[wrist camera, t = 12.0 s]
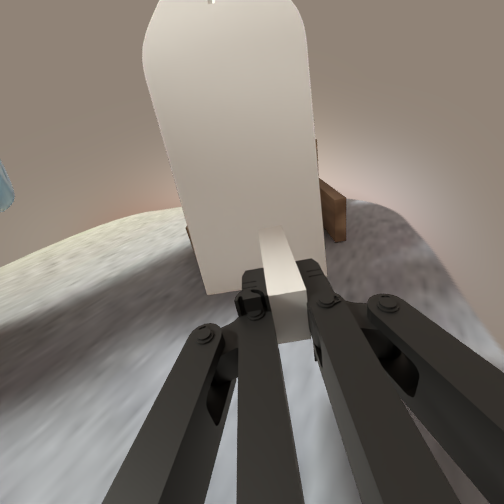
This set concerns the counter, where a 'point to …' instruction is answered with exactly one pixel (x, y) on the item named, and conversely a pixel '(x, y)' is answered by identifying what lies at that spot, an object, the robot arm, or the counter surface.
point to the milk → (237, 129)
